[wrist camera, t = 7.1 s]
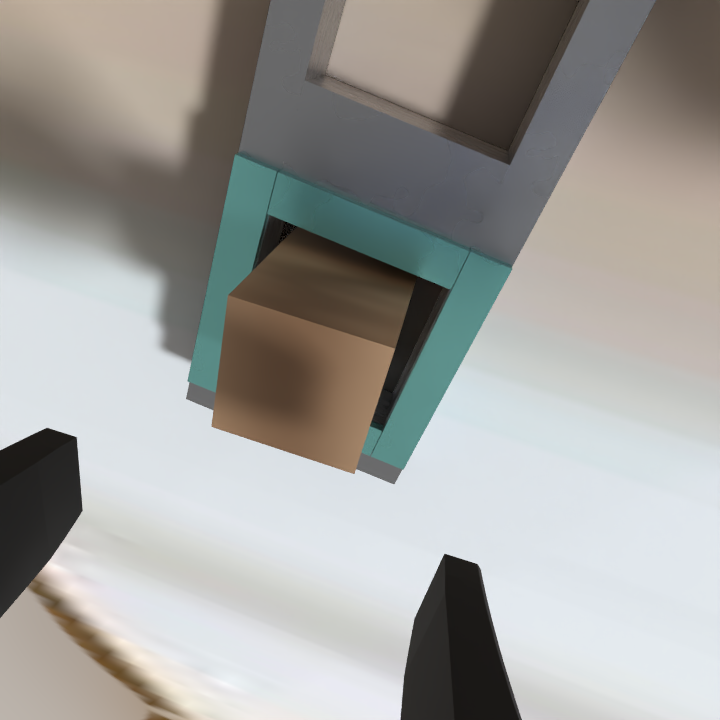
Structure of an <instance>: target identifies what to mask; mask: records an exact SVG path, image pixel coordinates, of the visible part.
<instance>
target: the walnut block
mask: <svg viewBox="0 0 720 720" xmlns="http://www.w3.org/2000/svg"><path fill="white" fill-rule="evenodd" d="M416 279H417V276H416V275H414V274H411V273H409V272H407V271H404V270H402V269H399V268H397V267H394V266H392V265H390V264H387V263H385V262H382V261H380V260H378V259H375V258H373V257H370V256H368V255H365V254H363V253H361V252H358V251H356V250H353V249H351V248H348V247H346V246H344V245H341V244H339V243H336V242H334V241H332V240H329V239H327V238H324V237H322V236H319V235H317V234H315V233H312V232H310V231H307V230H305V229H303V228H300V227H298V226H297V227H296V228H295V229H294V230H293V231H292V232H291V233H290V234H289V235H288V236H287V237H286V238H285V239H284V240H283V241H282V242H281V243H280V244H279V245H278V246H277V247H276V248H275V249H274V250H273V251H272V252H271V253H270V254H269V255H268V256H267V257H266V258H265V259H264V260H263V261H262V262H261V263H260V264H259V265H258V266H257V267H256V268H255V269H254V270H253V271H252V272H251V273H250V274H249V275H248V276H247V277H246V278H245V279H244V280H243V281H242V282H241V283H240V284H239V285H238V286H237V287H236V288H235V289H234V290H233V291H232V292H231V293H230V294H229V295H228V298H227V306H226V314H225V322H224V330H223V338H222V347H221V355H220V363H219V371H218V379H217V387H216V395H215V403H214V411H213V419H212V427H214V428H217V429H220V430H223V431H226V432H229V433H232V434H235V435H238V436H241V437H244V438H247V439H250V440H253V441H256V442H259V443H262V444H265V445H268V446H271V447H274V448H277V449H280V450H283V451H286V452H289V453H292V454H295V455H298V456H302V457H305V458H308V459H311V460H314V461H317V462H320V463H323V464H326V465H329V466H332V467H335V468H338V469H341V470H344V471H347V472H350V473H353V474H354V473H355V470H356V467H357V464H358V461H359V458H360V455H361V452H362V449H363V446H364V443H365V440H366V437H367V434H368V430H369V427H370V424H371V421H372V418H373V415H374V412H375V409H376V406H377V403H378V400H379V397H380V394H381V391H382V388H383V385H384V382H385V378H386V375H387V372H388V369H389V366H390V363H391V360H392V357H393V354H394V351H395V348H396V345H397V341H398V338H399V335H400V331H401V328H402V325H403V322H404V318H405V315H406V312H407V309H408V305H409V302H410V299H411V295H412V292H413V289H414V286H415V282H416Z"/></svg>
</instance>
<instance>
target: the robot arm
mask: <svg viewBox="0 0 720 720" xmlns="http://www.w3.org/2000/svg"><path fill="white" fill-rule="evenodd" d="M82 511H83V510H82V498H81V486H80V473H79V461H78V449H77V437H74V436H71V435H68V434H65V433H62V432H58V431H55V430H52V429H49V428H46V429H44V430H41V431H39V432H37V433H35V434H33V435H31V436H29V437H27V438H25V439H23V440H21V441H19V442H16V443H14V444H12V445H10V446H8V447H6V448H4V449H2V450H0V618H1V617H2V615H3V614H4V613H5V612H6V611H7V609H8V608H9V607H10V606H11V605H12V604H13V603H14V601H15V600H16V599H17V598H18V597H19V595H20V594H21V593H22V592H23V591H24V590H25V588H26V587H27V586H28V585H29V584H30V583H31V581H32V580H33V579H34V578H35V577H36V576H37V574H38V573H39V572H40V571H41V570H42V568H43V567H44V566H45V565H46V564H47V562H48V561H49V560H50V559H51V557H52V556H53V554H54V553H55V551H56V550H57V549H58V547H59V546H60V544H61V543H62V541H63V540H64V538H65V537H66V536H67V534H68V532H69V531H70V529H71V528H72V526H73V525H74V523H75V522H76V520H77V519H78V517H79V515H80V514H81V512H82ZM401 720H522V719H521V716H520V713H519V710H518V707H517V704H516V701H515V698H514V694H513V691H512V688H511V685H510V681H509V678H508V675H507V672H506V669H505V665H504V662H503V659H502V655H501V652H500V648H499V645H498V641H497V637H496V633H495V630H494V626H493V622H492V618H491V614H490V610H489V606H488V602H487V597H486V593H485V588H484V584H483V579H482V574H481V570H480V568H479V566H478V565H477V564H475V563H472V562H469V561H466V560H463V559H459V558H456V557H453V556H450V555H447V554H444V556H443V558H442V560H441V563H440V565H439V567H438V569H437V571H436V573H435V576H434V578H433V580H432V582H431V584H430V586H429V589H428V591H427V593H426V595H425V597H424V599H423V602H422V604H421V606H420V608H419V610H418V613H417V615H416V617H415V620H414V625H413V630H412V636H411V641H410V646H409V652H408V658H407V663H406V669H405V675H404V685H403V697H402V709H401Z"/></svg>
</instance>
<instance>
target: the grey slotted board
mask: <svg viewBox="0 0 720 720" xmlns="http://www.w3.org/2000/svg"><path fill="white" fill-rule="evenodd" d="M345 1H346V0H271V1H270V6H269V10H268V15H267V20H266V25H265V29H264V34H263V39H262V43H261V48H260V53H259V58H258V62H257V67H256V72H255V76H254V81H253V86H252V91H251V95H250V100H249V105H248V109H247V114H246V119H245V124H244V128H243V133H242V138H241V142H240V147H239V152H238V153H237V154H235V157H234V162H233V166H232V171H231V176H230V181H229V185H228V190H227V195H226V200H225V205H224V209H223V214H222V219H221V224H220V229H219V233H218V238H217V243H216V248H215V252H214V257H213V262H212V267H211V272H210V276H209V281H208V286H207V291H206V295H205V300H204V305H203V310H202V315H201V319H200V324H199V329H198V334H197V338H196V343H195V348H194V353H193V358H192V362H191V367H190V372H189V377H188V382H190V383H189V388H188V392H187V397H186V399H188V400H190V401H192V402H195V403H197V404H200V405H202V406H205V407H207V408H209V409H212V410H214V403H215V395H216V387H217V379H218V371H219V363H220V355H221V347H222V338H223V330H224V322H225V314H226V306H227V298H228V295H229V294H230V293H231V292H232V291H233V290H234V289H235V288H236V287H237V286H238V285H239V284H240V283H241V282H242V281H243V280H244V279H245V278H246V277H247V276H248V275H249V274H250V273H251V272H252V271H253V270H254V269H255V268H256V267H257V266H258V265H259V264H260V263H261V262H262V261H263V260H264V259H265V258H266V257H267V256H268V255H269V254H270V253H271V252H272V251H273V250H274V249H275V248H276V247H277V246H278V244H279V240H280V236H281V233H282V229H283V226H284V222H285V221H286V222H288V223H290V224H293V225H295V226H298V227H300V228H303V229H305V230H307V231H310V232H312V233H315V234H317V235H319V236H322V237H324V238H327V239H329V240H332V241H334V242H336V243H339V244H341V245H344V246H346V247H348V248H351V249H353V250H356V251H358V252H361V253H363V254H365V255H368V256H370V257H373V258H375V259H378V260H380V261H382V262H385V263H387V264H390V265H392V266H394V267H397V268H399V269H402V270H404V271H407V272H409V273H411V274H414V275H416V276H419V277H421V278H423V279H426V280H428V281H431V282H433V283H436V284H438V285H440V286H443V288H442V290H441V293H440V295H439V297H438V299H437V301H436V303H435V305H434V307H433V309H432V311H431V314H430V316H429V318H428V320H427V322H426V324H425V326H424V328H423V330H422V332H421V335H420V337H419V339H418V341H417V343H416V345H415V347H414V349H413V351H412V353H411V356H410V358H409V360H408V362H407V364H406V366H405V368H404V370H403V372H402V374H401V377H400V379H399V381H398V383H397V385H396V387H395V389H394V391H393V393H391V392H389V391H386V390H384V389H382V391H381V394H380V397H379V400H378V403H377V406H376V409H375V412H374V415H373V418H372V421H371V424H370V427H369V430H368V434H367V437H366V440H365V443H364V446H363V449H362V452H361V455H360V458H359V461H358V464H357V467H356V469H358V470H360V471H363V472H365V473H368V474H370V475H372V476H375V477H377V478H380V479H382V480H385V481H387V482H390V483H392V484H395V482H396V480H397V478H398V476H399V475H400V473H401V471H402V470H403V469H404V467H405V466H406V464H407V462H408V460H409V458H410V456H411V455H412V453H413V451H414V449H415V447H416V445H417V443H418V442H419V440H420V438H421V436H422V434H423V432H424V431H425V429H426V427H427V425H428V423H429V421H430V420H431V418H432V416H433V414H434V412H435V410H436V408H437V407H438V405H439V403H440V401H441V399H442V397H443V396H444V394H445V392H446V390H447V388H448V386H449V385H450V383H451V381H452V379H453V377H454V375H455V374H456V372H457V370H458V368H459V366H460V364H461V362H462V361H463V359H464V357H465V355H466V353H467V351H468V350H469V348H470V346H471V344H472V342H473V340H474V339H475V337H476V335H477V333H478V331H479V329H480V327H481V326H482V324H483V322H484V320H485V318H486V316H487V315H488V313H489V311H490V309H491V307H492V305H493V304H494V302H495V300H496V298H497V296H498V294H499V292H500V291H501V289H502V287H503V285H504V283H505V281H506V280H507V278H508V276H509V274H510V272H511V270H512V266H513V264H514V262H515V260H516V258H517V257H518V255H519V253H520V251H521V249H522V247H523V246H524V244H525V242H526V240H527V238H528V236H529V234H530V233H531V231H532V229H533V227H534V225H535V223H536V222H537V220H538V218H539V216H540V214H541V212H542V210H543V209H544V207H545V205H546V203H547V201H548V199H549V198H550V196H551V194H552V192H553V190H554V188H555V186H556V185H557V183H558V181H559V179H560V177H561V175H562V174H563V172H564V170H565V168H566V166H567V164H568V162H569V161H570V159H571V157H572V155H573V153H574V151H575V150H576V148H577V146H578V144H579V142H580V140H581V138H582V137H583V135H584V133H585V131H586V129H587V127H588V126H589V124H590V122H591V120H592V118H593V116H594V114H595V113H596V111H597V109H598V107H599V105H600V103H601V102H602V100H603V98H604V96H605V94H606V92H607V90H608V89H609V87H610V85H611V83H612V81H613V79H614V77H615V76H616V74H617V72H618V70H619V68H620V66H621V65H622V63H623V61H624V59H625V57H626V55H627V53H628V52H629V50H630V48H631V46H632V44H633V42H634V41H635V39H636V37H637V35H638V33H639V31H640V29H641V28H642V26H643V24H644V22H645V20H646V18H647V17H648V15H649V13H650V11H651V9H652V7H653V5H654V4H655V2H656V0H579V3H578V5H577V7H576V9H575V11H574V13H573V15H572V17H571V19H570V21H569V24H568V26H567V28H566V30H565V32H564V34H563V36H562V38H561V40H560V42H559V45H558V47H557V49H556V51H555V53H554V55H553V57H552V59H551V61H550V64H549V66H548V68H547V70H546V72H545V74H544V76H543V78H542V80H541V82H540V85H539V87H538V89H537V91H536V93H535V95H534V97H533V99H532V101H531V103H530V106H529V108H528V110H527V112H526V114H525V116H524V118H523V120H522V122H521V124H520V127H519V129H518V131H517V133H516V135H515V137H514V139H513V141H512V143H511V145H510V148H509V150H508V151H507V150H504V149H502V148H499V147H497V146H494V145H492V144H490V143H487V142H485V141H482V140H480V139H478V138H475V137H473V136H470V135H468V134H466V133H463V132H461V131H458V130H456V129H454V128H451V127H449V126H446V125H444V124H441V123H439V122H437V121H434V120H432V119H429V118H427V117H425V116H422V115H420V114H417V113H415V112H413V111H410V110H408V109H405V108H403V107H401V106H398V105H396V104H393V103H391V102H388V101H386V100H384V99H381V98H379V97H376V96H374V95H372V94H369V93H367V92H364V91H362V90H360V89H357V88H355V87H352V86H350V85H348V84H345V83H343V82H340V81H338V80H335V79H333V78H331V77H328V76H326V75H325V73H326V70H327V66H328V63H329V59H330V55H331V52H332V48H333V44H334V41H335V37H336V34H337V30H338V26H339V23H340V19H341V16H342V12H343V8H344V5H345Z"/></svg>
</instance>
